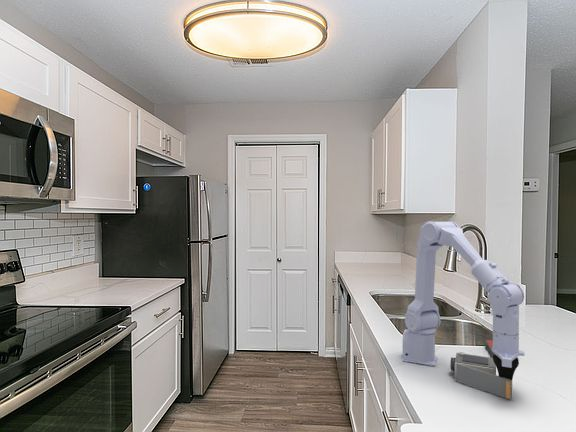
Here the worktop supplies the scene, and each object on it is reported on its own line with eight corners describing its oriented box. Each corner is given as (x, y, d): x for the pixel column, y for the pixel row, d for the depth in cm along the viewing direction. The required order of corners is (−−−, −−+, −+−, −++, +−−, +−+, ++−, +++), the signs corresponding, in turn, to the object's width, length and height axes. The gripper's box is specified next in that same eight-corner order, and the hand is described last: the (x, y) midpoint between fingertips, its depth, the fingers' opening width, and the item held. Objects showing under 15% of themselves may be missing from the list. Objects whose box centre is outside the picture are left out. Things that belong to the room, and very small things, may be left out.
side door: (453, 380, 105) (453, 363, 105) (455, 379, 106) (455, 362, 106) (510, 400, 94) (510, 381, 94) (512, 398, 95) (512, 380, 95)
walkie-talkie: (522, 364, 119) (508, 343, 138) (522, 349, 119) (508, 331, 138) (491, 360, 122) (480, 341, 141) (491, 346, 122) (480, 329, 141)
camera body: (449, 379, 107) (449, 359, 107) (452, 369, 114) (452, 350, 114) (496, 387, 102) (496, 366, 102) (495, 376, 109) (495, 356, 109)
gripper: (526, 342, 89) (526, 402, 89) (522, 326, 102) (521, 378, 102) (492, 338, 92) (491, 395, 92) (491, 323, 105) (491, 373, 105)
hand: (505, 386), depth 97 cm, fingers closed
